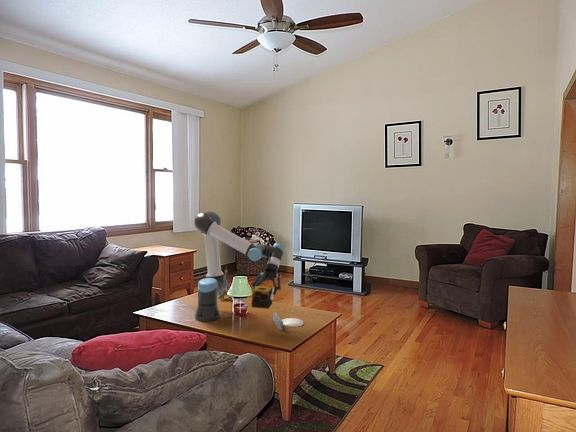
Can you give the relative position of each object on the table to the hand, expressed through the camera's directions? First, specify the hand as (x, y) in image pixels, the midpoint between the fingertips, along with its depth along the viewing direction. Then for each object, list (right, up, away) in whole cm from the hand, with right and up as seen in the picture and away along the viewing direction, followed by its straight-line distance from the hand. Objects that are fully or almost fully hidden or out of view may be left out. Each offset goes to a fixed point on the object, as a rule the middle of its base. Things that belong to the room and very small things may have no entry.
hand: (262, 298), depth 229 cm
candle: (0, -4, 0) cm, 5 cm away
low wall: (+9, -17, +6) cm, 20 cm away
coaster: (+17, -17, +11) cm, 27 cm away
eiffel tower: (-30, -13, +58) cm, 66 cm away
